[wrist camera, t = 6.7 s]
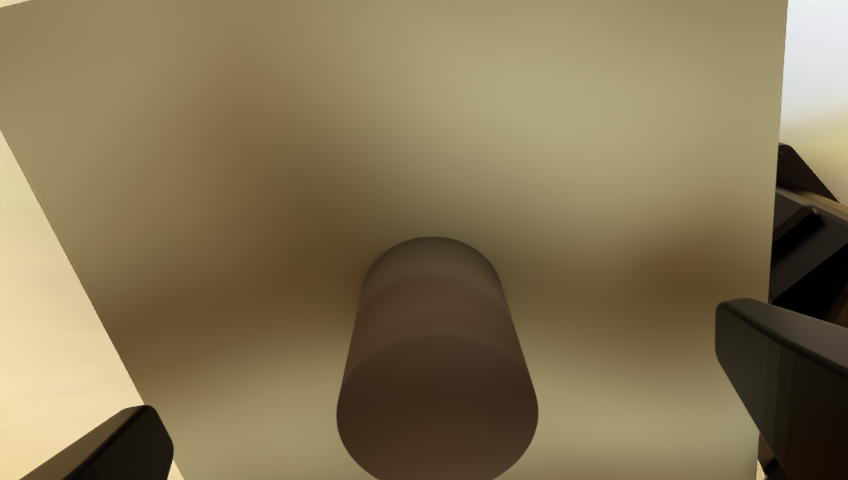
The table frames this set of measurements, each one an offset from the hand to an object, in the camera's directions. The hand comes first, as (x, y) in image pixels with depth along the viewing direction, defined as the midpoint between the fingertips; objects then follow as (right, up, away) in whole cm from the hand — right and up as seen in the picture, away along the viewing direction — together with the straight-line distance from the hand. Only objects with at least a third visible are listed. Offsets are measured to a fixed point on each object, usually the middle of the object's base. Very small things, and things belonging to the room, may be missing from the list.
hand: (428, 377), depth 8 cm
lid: (0, +1, +3) cm, 4 cm away
